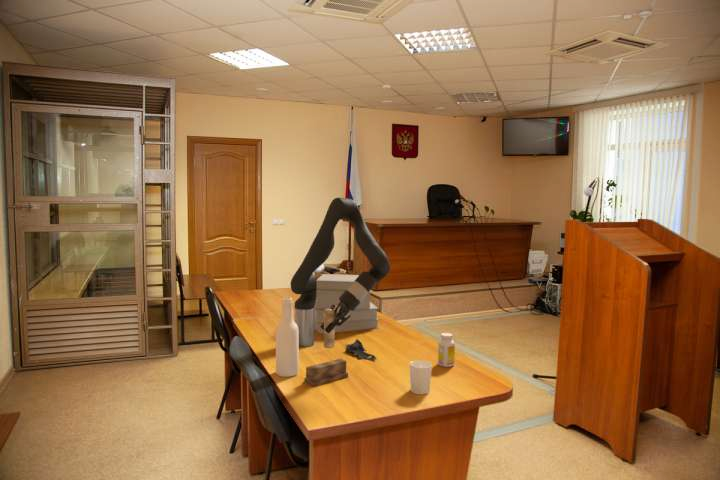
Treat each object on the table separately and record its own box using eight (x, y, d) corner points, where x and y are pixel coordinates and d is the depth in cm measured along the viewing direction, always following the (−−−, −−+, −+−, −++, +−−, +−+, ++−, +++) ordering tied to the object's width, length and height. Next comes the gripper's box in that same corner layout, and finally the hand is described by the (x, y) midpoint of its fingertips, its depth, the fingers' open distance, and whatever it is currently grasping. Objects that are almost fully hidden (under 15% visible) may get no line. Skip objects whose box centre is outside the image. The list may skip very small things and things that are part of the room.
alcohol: (273, 371, 197) (272, 296, 194) (294, 368, 200) (294, 295, 197) (279, 379, 189) (278, 301, 186) (301, 375, 192) (301, 299, 189)
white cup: (407, 386, 183) (407, 360, 182) (428, 386, 183) (429, 360, 182) (411, 395, 175) (411, 368, 174) (433, 395, 176) (434, 367, 175)
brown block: (312, 386, 182) (312, 370, 181) (304, 381, 187) (304, 366, 186) (348, 377, 192) (348, 361, 191) (339, 372, 196) (339, 357, 196)
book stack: (302, 321, 271) (302, 274, 268) (362, 316, 284) (362, 271, 282) (319, 336, 243) (319, 285, 241) (384, 329, 257) (385, 280, 254)
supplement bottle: (455, 363, 209) (456, 333, 207) (452, 368, 202) (453, 337, 201) (439, 361, 211) (440, 331, 209) (436, 366, 204) (437, 335, 203)
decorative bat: (338, 334, 234) (358, 334, 237) (337, 342, 234) (357, 343, 237) (355, 354, 206) (378, 354, 209) (354, 364, 206) (377, 364, 209)
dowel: (321, 346, 189) (321, 309, 187) (330, 344, 191) (330, 308, 190) (328, 348, 186) (327, 312, 184) (336, 346, 188) (336, 310, 187)
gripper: (339, 286, 196) (311, 319, 192) (355, 293, 183) (324, 329, 179) (352, 298, 199) (323, 331, 195) (368, 305, 186) (338, 341, 182)
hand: (324, 330), depth 187 cm, fingers closed on dowel, 4 cm apart
